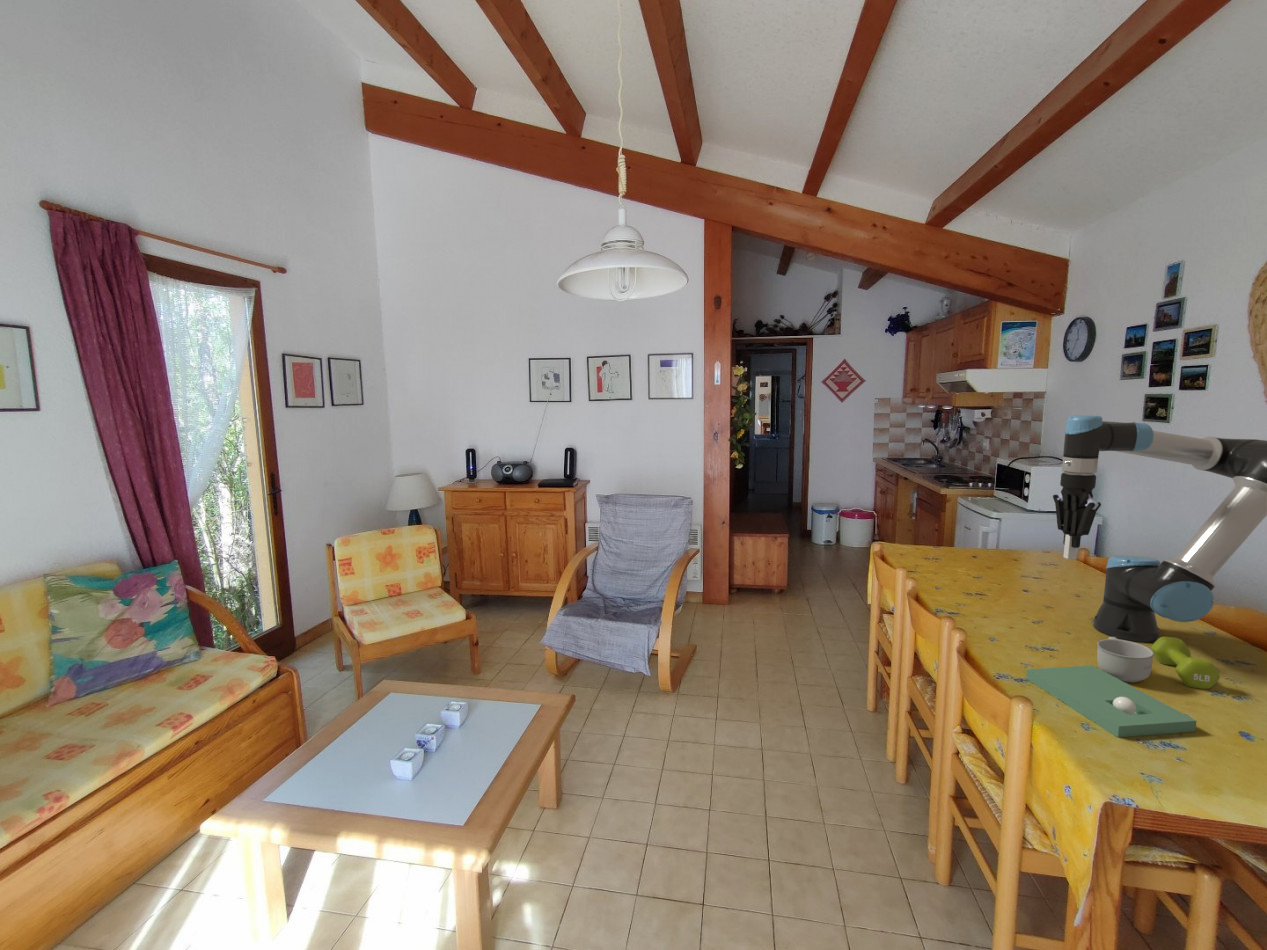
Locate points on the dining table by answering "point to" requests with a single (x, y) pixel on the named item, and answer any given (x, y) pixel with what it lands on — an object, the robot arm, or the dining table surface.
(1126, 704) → the ball
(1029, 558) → the dining table surface
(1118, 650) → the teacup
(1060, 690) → the putting mat
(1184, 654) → the dumbbell
